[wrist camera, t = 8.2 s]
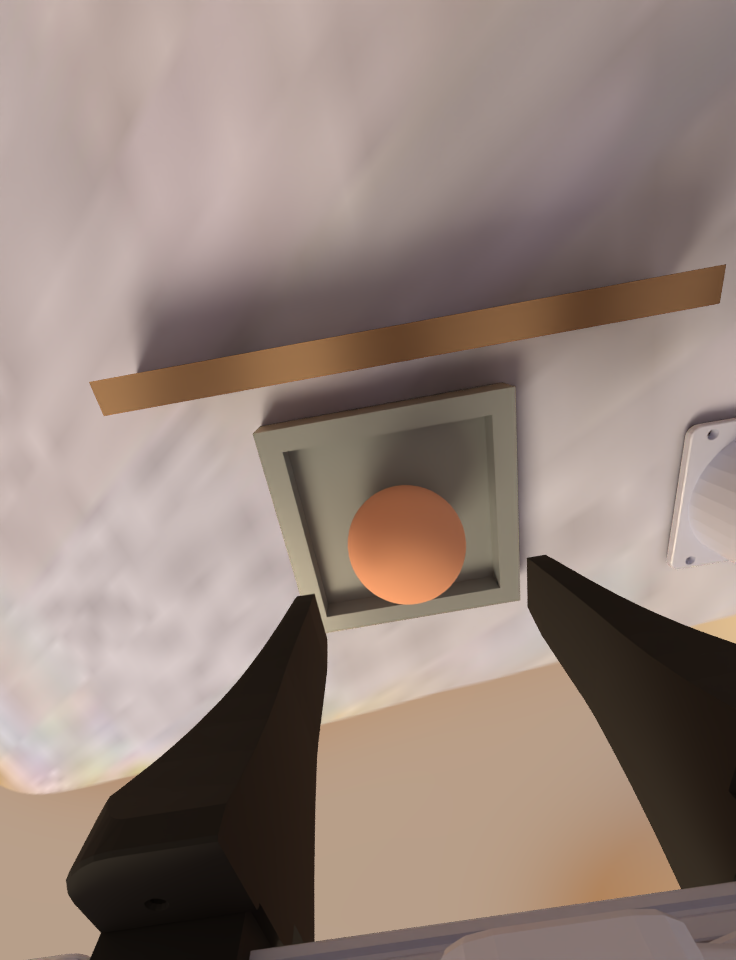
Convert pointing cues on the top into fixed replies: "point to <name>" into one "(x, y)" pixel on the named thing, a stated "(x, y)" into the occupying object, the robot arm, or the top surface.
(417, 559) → the ball
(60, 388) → the top surface
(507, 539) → the tray
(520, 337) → the wooden plank
